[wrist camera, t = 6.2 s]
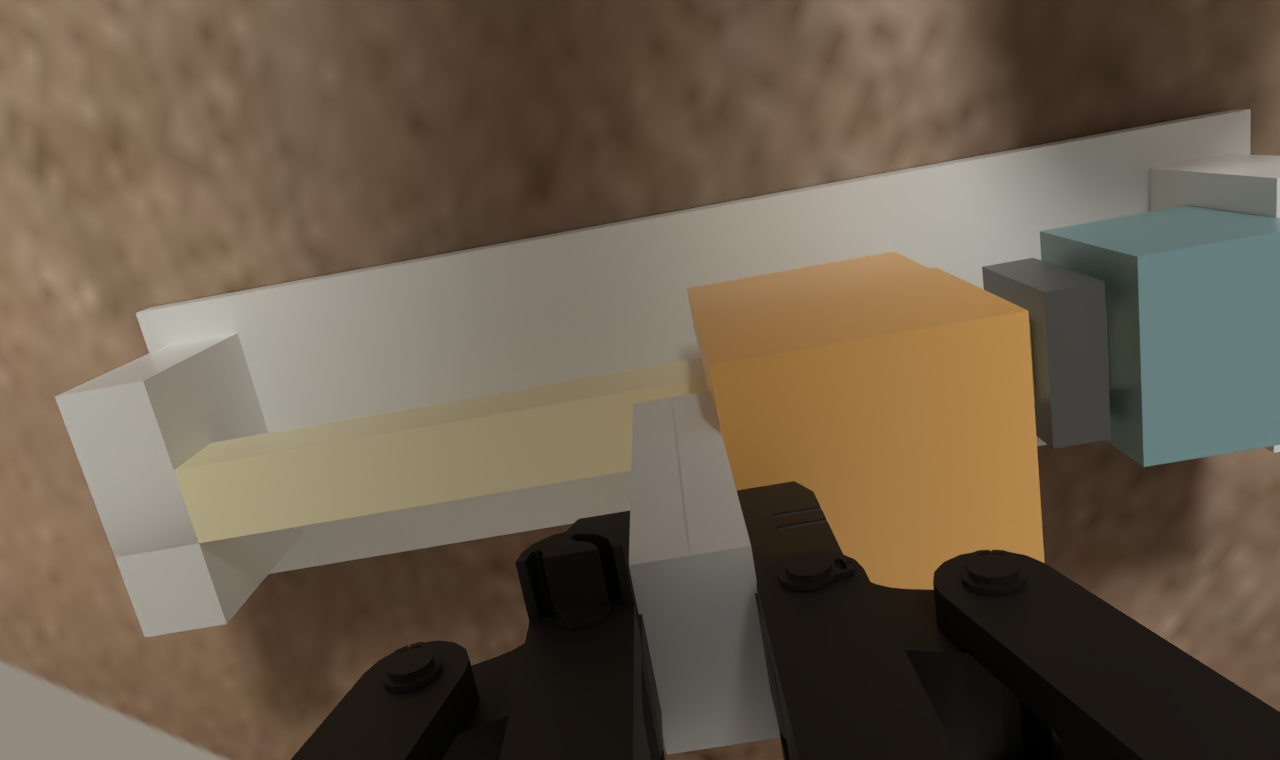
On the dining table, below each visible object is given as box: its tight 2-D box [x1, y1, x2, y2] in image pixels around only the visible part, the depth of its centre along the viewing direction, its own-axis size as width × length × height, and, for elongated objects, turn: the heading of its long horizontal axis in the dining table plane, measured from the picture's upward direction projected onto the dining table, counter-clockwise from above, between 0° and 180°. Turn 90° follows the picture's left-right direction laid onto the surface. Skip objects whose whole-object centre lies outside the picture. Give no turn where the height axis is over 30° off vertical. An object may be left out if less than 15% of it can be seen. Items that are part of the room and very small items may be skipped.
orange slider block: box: [687, 251, 1045, 590], centre depth 18 cm, size 5×5×8 cm
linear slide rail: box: [55, 109, 1280, 637], centre depth 22 cm, size 8×29×7 cm, turn 100°
